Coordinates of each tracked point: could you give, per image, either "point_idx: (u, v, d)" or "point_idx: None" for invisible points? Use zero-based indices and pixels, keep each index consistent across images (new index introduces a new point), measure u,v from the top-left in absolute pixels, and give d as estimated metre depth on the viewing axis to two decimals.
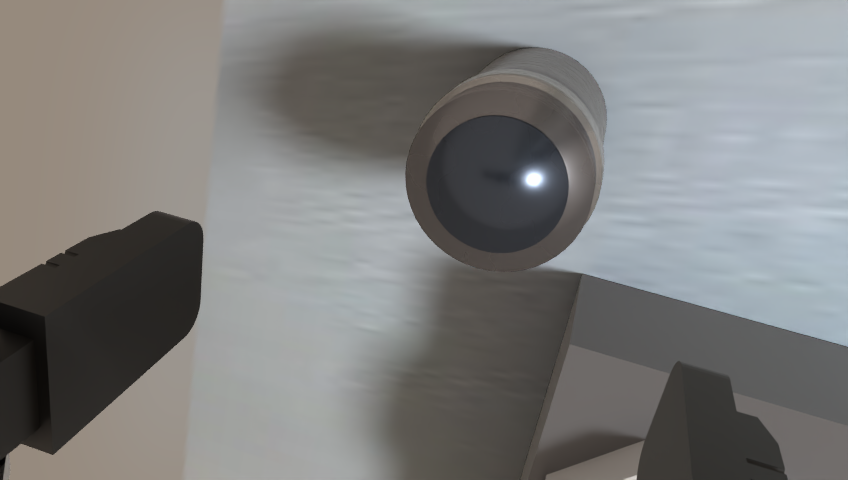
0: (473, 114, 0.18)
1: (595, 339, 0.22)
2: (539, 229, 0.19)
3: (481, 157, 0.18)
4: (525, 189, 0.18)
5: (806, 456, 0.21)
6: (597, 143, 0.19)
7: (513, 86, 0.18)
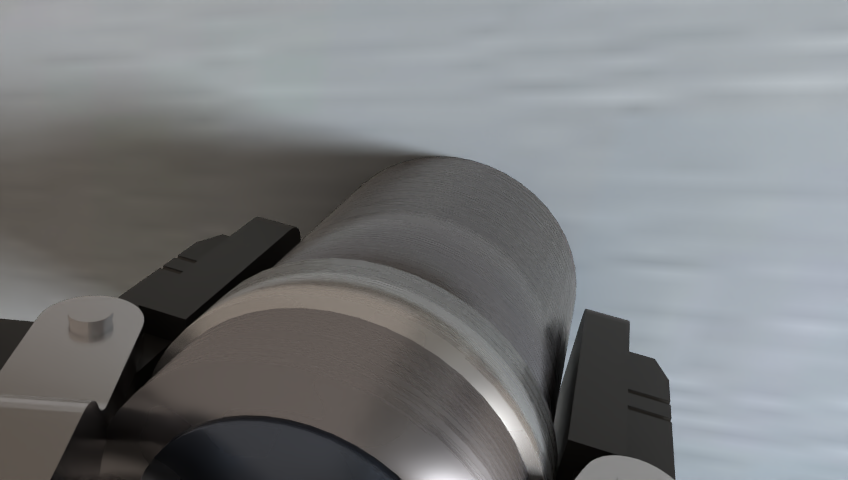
0: (218, 412, 0.07)
1: None
2: None
3: None
4: None
5: None
6: (535, 455, 0.08)
7: (322, 335, 0.07)
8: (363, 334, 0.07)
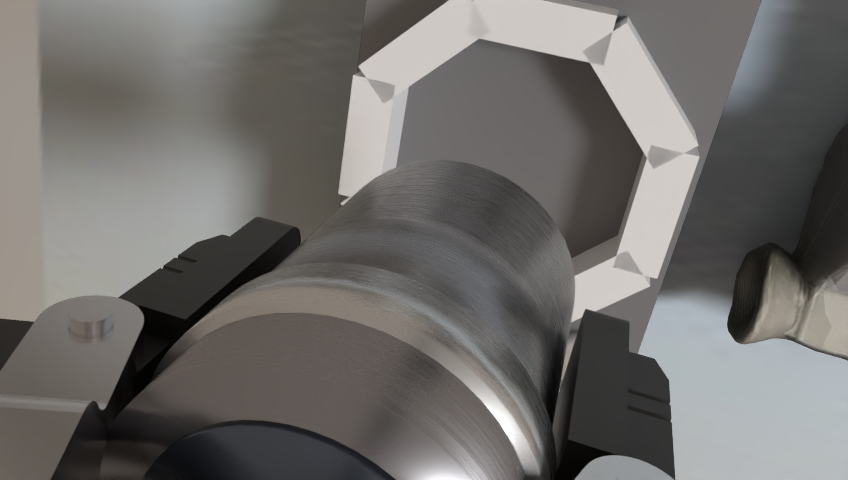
0: (217, 416, 0.07)
1: None
2: None
3: None
4: None
5: None
6: (534, 459, 0.08)
7: (321, 339, 0.07)
8: (362, 339, 0.07)
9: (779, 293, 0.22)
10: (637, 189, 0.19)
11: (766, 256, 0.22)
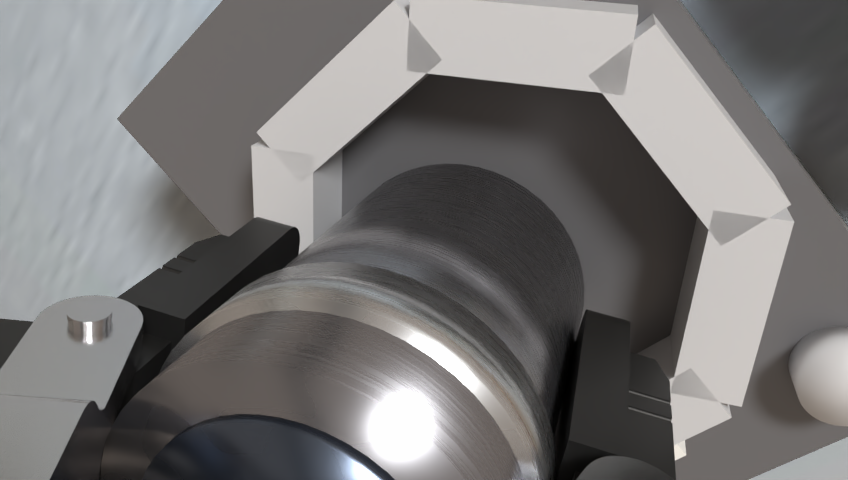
0: (214, 411, 0.07)
1: None
2: None
3: None
4: None
5: None
6: (528, 454, 0.08)
7: (316, 335, 0.08)
8: (355, 335, 0.08)
9: None
10: (637, 135, 0.12)
11: None
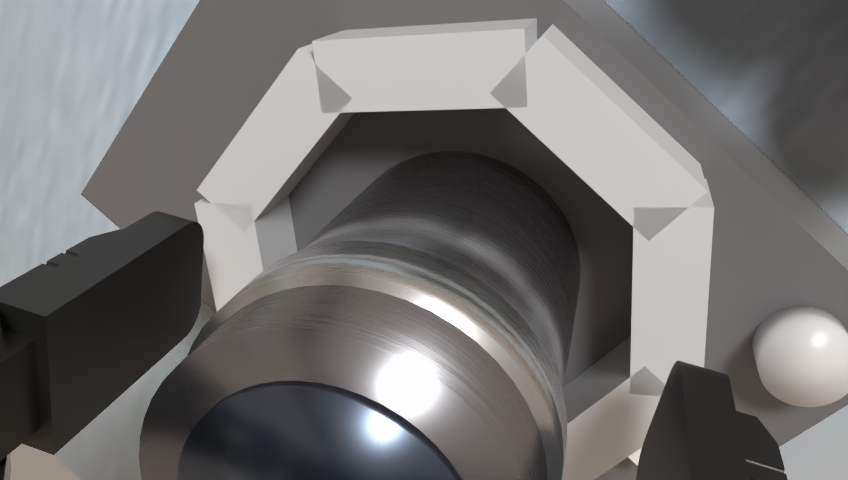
0: (255, 378, 0.08)
1: None
2: None
3: (283, 468, 0.08)
4: None
5: None
6: (546, 415, 0.08)
7: (348, 306, 0.08)
8: (385, 306, 0.08)
9: None
10: (547, 144, 0.12)
11: None
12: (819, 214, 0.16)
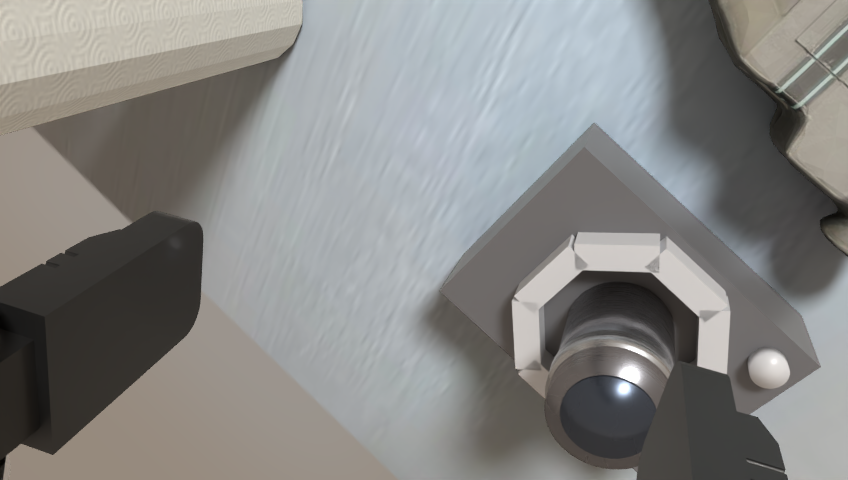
0: (592, 374, 0.27)
1: (452, 275, 0.36)
2: (639, 446, 0.28)
3: (598, 400, 0.27)
4: (629, 420, 0.28)
5: (563, 210, 0.33)
6: None
7: (618, 353, 0.27)
8: (628, 353, 0.27)
9: None
10: (666, 285, 0.31)
11: None
12: (780, 304, 0.35)
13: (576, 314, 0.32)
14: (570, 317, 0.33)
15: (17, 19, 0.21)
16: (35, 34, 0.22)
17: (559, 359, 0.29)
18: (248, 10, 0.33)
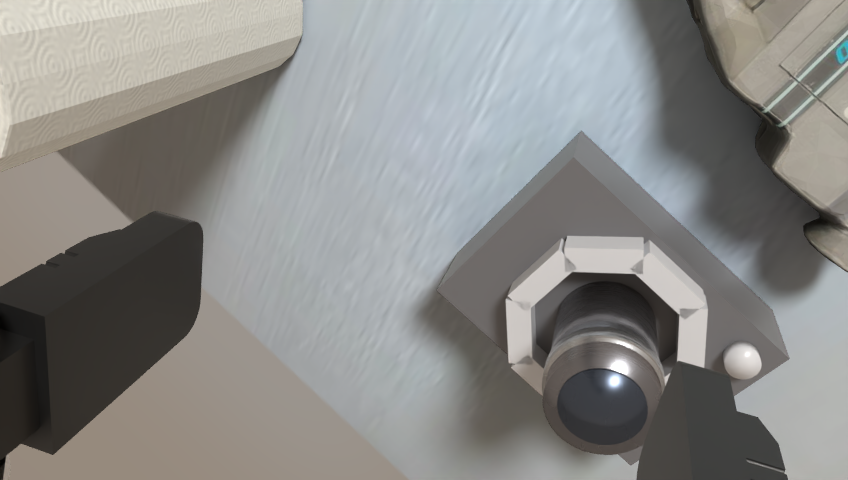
0: (587, 368, 0.30)
1: (448, 275, 0.39)
2: (630, 432, 0.30)
3: (593, 392, 0.30)
4: (620, 408, 0.30)
5: (554, 215, 0.35)
6: (662, 375, 0.30)
7: (609, 347, 0.30)
8: (618, 347, 0.30)
9: (831, 245, 0.34)
10: (649, 285, 0.34)
11: (806, 237, 0.34)
12: (753, 300, 0.38)
13: (566, 313, 0.34)
14: (560, 316, 0.35)
15: (56, 53, 0.23)
16: (71, 66, 0.23)
17: (554, 355, 0.31)
18: (255, 26, 0.34)
